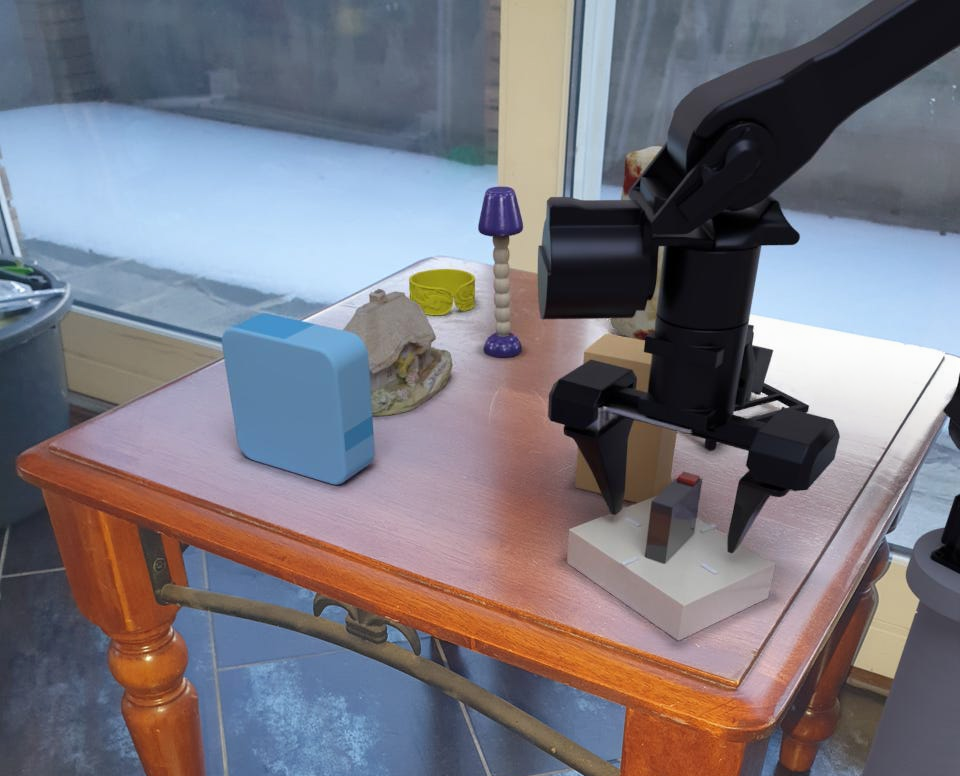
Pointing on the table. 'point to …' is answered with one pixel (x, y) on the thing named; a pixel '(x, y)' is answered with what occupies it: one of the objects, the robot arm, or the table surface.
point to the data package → (300, 396)
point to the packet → (633, 427)
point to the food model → (646, 319)
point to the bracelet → (442, 290)
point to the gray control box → (673, 517)
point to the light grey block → (669, 571)
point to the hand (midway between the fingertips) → (672, 530)
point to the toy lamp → (501, 263)
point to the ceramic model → (399, 352)
